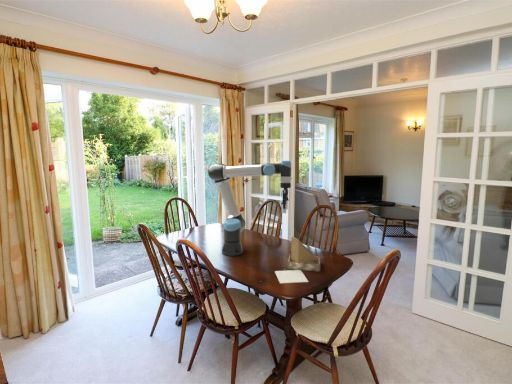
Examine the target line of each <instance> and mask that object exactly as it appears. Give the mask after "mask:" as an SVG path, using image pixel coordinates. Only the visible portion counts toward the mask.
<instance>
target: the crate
mask: <svg viewBox="0 0 512 384" xmlns="http://www.w3.org/2000/svg"><path fill="white" fill-rule="evenodd" d="M314 256H315V255H314ZM315 257H316V258H317V259H318V260H315V261H310V262H304V263H297V262H295V261H294V260H292V259H291V253H289V254H288V259H287V264H286V265H287V270H301V271H305V272H306V271H309V272H321V258H320V257H321V256H320V255H317V256H315Z"/></svg>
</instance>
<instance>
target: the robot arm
mask: <svg viewBox="0 0 512 384" xmlns="http://www.w3.org/2000/svg"><path fill="white" fill-rule="evenodd" d="M207 175H208V177H209V179H211V180H213V181H214V184H215V185H217V187H218V190H219V192H220V196H221V199H222V203H223V206H224V208H225V211H226V215H227V216H226V220H224V221H223V222H224V223H223V238H224V239H223V240H224V241H223V245H222V248H221V253H222V254H223V255H224V256H229V257H236V256H240V255H243V253H244V249H243V246H242V245H243V244H242V242H241V234H242V232H243V231H244V230H245V228H246V224H247V223H246V219H245V218H244V217H243V216H242V213H241V212H239V209H238V206H237V203H236V201H235V200H236V199H235V195H234V194H233V190H232V187H231V184H230V180H231V178H240V177H246V178H247V177H261V176H263V177H264V176H267V177H268V176H269V177H270V176H273V175H280V177H279V178H280V180H279V181H280V185H279V186H280V189H282V198H281V199H282V201H281V206H282V209H281V210H282V211H281V213H282V214H287V210H288V209H289V208H288V206H289V205H288V204H289V200H290V199H289V190H288V189H290V188H291V186H292V185H291V183H292V182H291V180H292V162H291V160H280V163H274V162H273V163H270V162H267V163H265V162H264V163H263V164H250V165H234V166H227V165H226V164H225V163H219V162H218V163H216V164H215V163H214V164H212V165H210V167H208V170H207Z"/></svg>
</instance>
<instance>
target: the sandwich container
mask: <svg viewBox="0 0 512 384" xmlns="http://www.w3.org/2000/svg"><path fill="white" fill-rule="evenodd" d="M290 249H291V252H290V254H291V259H292V260H294V261H295V262H297V263H304V262H310V261H315V260H318V259H317V258H316V257H315V255H314V253H312V252H311V251H310V249H308V248H307V247H306V246H305V244H303V243H302V242H301V241H300V239H298V238H296V237H294V236H291V248H290Z"/></svg>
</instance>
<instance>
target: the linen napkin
mask: <svg viewBox="0 0 512 384" xmlns="http://www.w3.org/2000/svg"><path fill="white" fill-rule="evenodd" d="M274 274H275V275H276V277H277V280H278V282H279V284H281V285H283V284H297V283H298V284H299V283H309V280H308V278H307V277H306V276H305V274H304V272H303V270H293V269H287V270H275V271H274Z"/></svg>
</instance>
